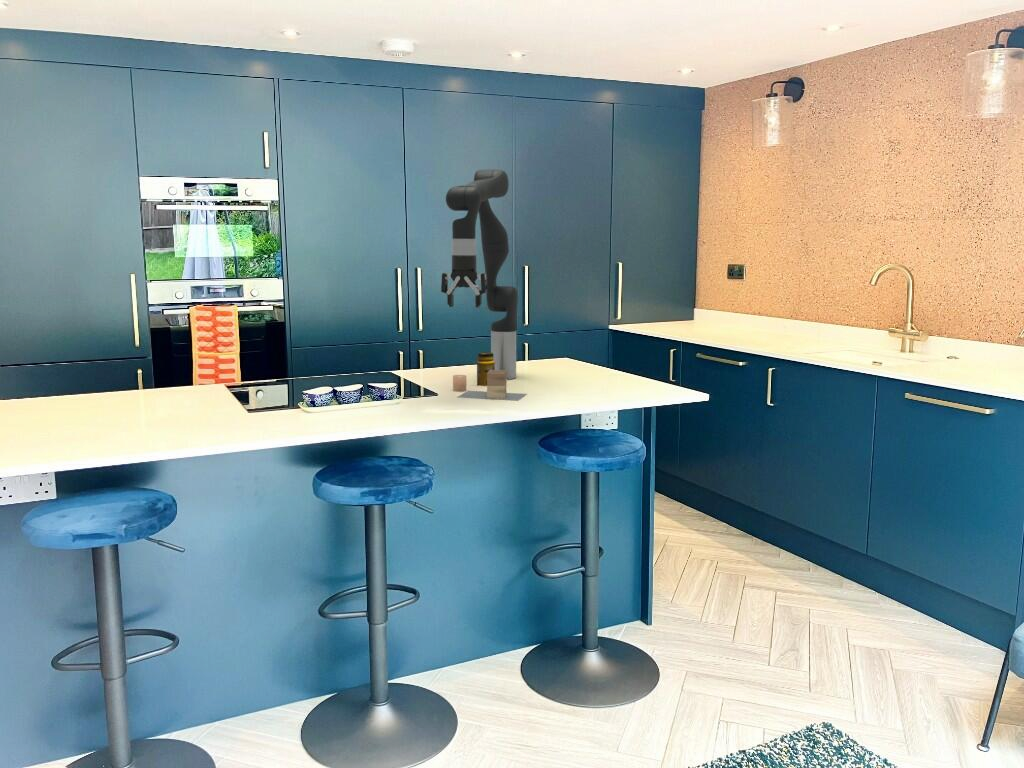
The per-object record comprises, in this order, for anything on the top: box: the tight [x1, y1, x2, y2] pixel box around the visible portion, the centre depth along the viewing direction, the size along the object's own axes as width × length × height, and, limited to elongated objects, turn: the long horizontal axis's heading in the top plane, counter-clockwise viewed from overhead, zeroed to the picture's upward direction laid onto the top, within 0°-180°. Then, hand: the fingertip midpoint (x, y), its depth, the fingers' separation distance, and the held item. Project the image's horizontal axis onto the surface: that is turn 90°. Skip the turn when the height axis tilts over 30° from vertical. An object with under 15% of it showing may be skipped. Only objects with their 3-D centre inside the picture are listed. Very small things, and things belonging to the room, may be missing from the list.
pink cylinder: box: [452, 374, 467, 393], centre depth 274 cm, size 4×4×6 cm
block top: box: [486, 370, 507, 387], centre depth 262 cm, size 6×6×4 cm
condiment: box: [471, 351, 495, 387], centre depth 285 cm, size 7×8×12 cm
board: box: [457, 390, 528, 402], centre depth 265 cm, size 12×20×1 cm, turn 75°
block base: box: [486, 384, 507, 400], centre depth 262 cm, size 6×6×4 cm
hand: (464, 307), depth 259 cm, fingers open, 8 cm apart
